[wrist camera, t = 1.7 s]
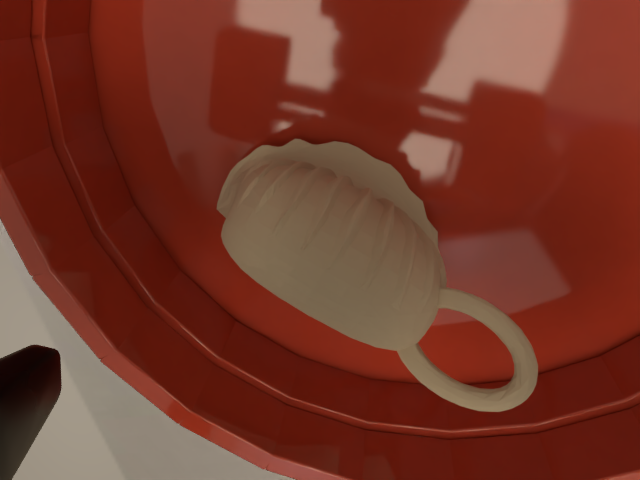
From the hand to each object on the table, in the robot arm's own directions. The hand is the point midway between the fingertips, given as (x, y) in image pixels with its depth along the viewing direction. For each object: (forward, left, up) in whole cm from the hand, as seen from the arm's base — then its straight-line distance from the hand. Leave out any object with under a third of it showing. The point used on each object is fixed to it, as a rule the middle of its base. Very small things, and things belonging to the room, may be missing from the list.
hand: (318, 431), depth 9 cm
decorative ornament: (0, 0, -8) cm, 8 cm away
